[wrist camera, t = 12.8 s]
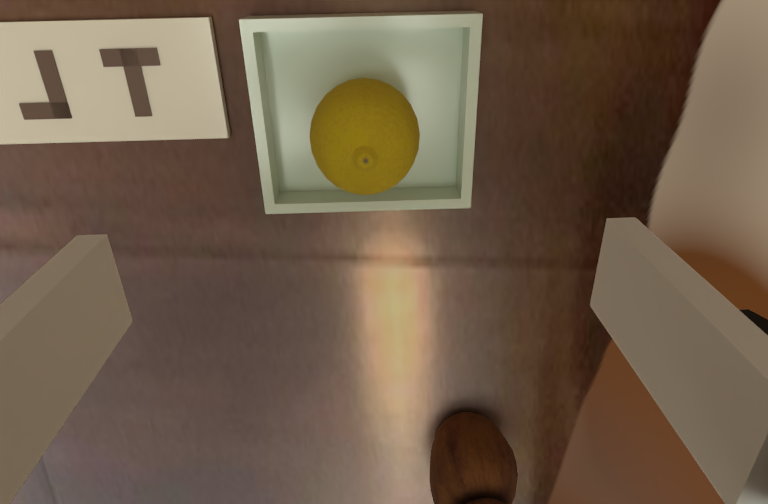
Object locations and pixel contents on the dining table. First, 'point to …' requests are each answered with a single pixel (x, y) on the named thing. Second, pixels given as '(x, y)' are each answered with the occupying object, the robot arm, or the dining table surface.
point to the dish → (353, 61)
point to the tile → (110, 81)
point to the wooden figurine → (471, 462)
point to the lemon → (364, 136)
